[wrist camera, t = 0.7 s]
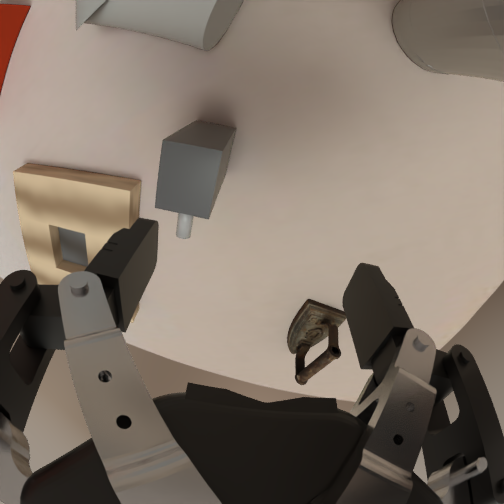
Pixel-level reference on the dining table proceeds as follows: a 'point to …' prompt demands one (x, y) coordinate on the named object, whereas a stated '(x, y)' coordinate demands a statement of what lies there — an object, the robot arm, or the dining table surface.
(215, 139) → the plug
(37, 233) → the socket board
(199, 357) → the dining table surface
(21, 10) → the file binder
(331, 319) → the clothes iron
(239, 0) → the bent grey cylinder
